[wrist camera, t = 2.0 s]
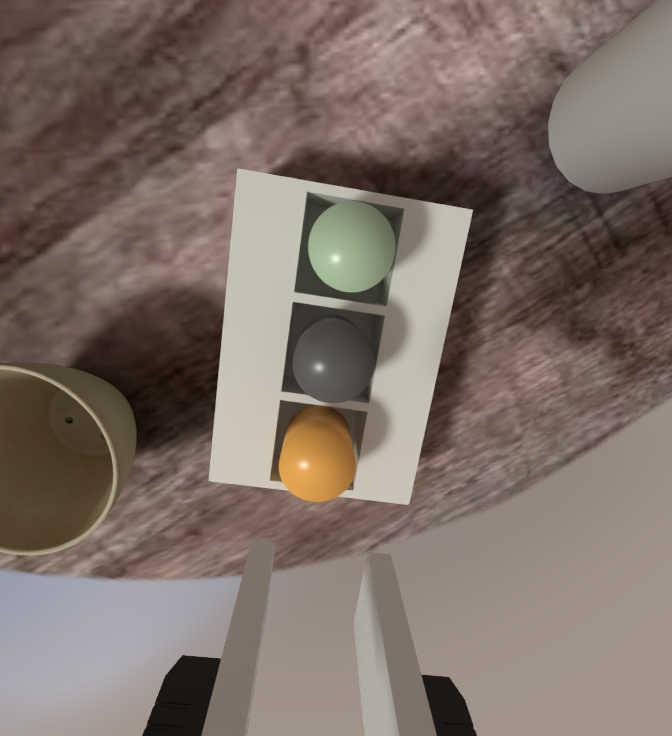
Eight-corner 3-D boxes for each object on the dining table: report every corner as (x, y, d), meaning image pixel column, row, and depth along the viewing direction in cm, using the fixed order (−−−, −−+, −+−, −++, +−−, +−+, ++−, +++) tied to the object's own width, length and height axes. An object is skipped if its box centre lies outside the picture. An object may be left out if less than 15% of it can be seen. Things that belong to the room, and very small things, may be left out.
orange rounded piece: (289, 401, 24) (283, 425, 20) (355, 410, 24) (362, 436, 20) (281, 462, 25) (274, 496, 21) (344, 469, 25) (349, 505, 21)
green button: (315, 208, 21) (314, 194, 18) (388, 221, 22) (402, 209, 18) (305, 283, 22) (302, 285, 18) (375, 294, 23) (386, 298, 19)
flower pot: (183, 363, 26) (132, 395, 19) (156, 498, 28) (102, 573, 21) (22, 322, 25) (-95, 341, 18) (7, 466, 27) (-103, 533, 20)
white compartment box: (251, 186, 23) (237, 168, 20) (448, 220, 24) (473, 209, 20) (224, 451, 27) (208, 481, 23) (396, 472, 28) (409, 504, 24)
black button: (302, 310, 23) (298, 317, 19) (370, 320, 23) (381, 329, 19) (293, 377, 24) (287, 397, 20) (359, 386, 24) (367, 408, 20)
